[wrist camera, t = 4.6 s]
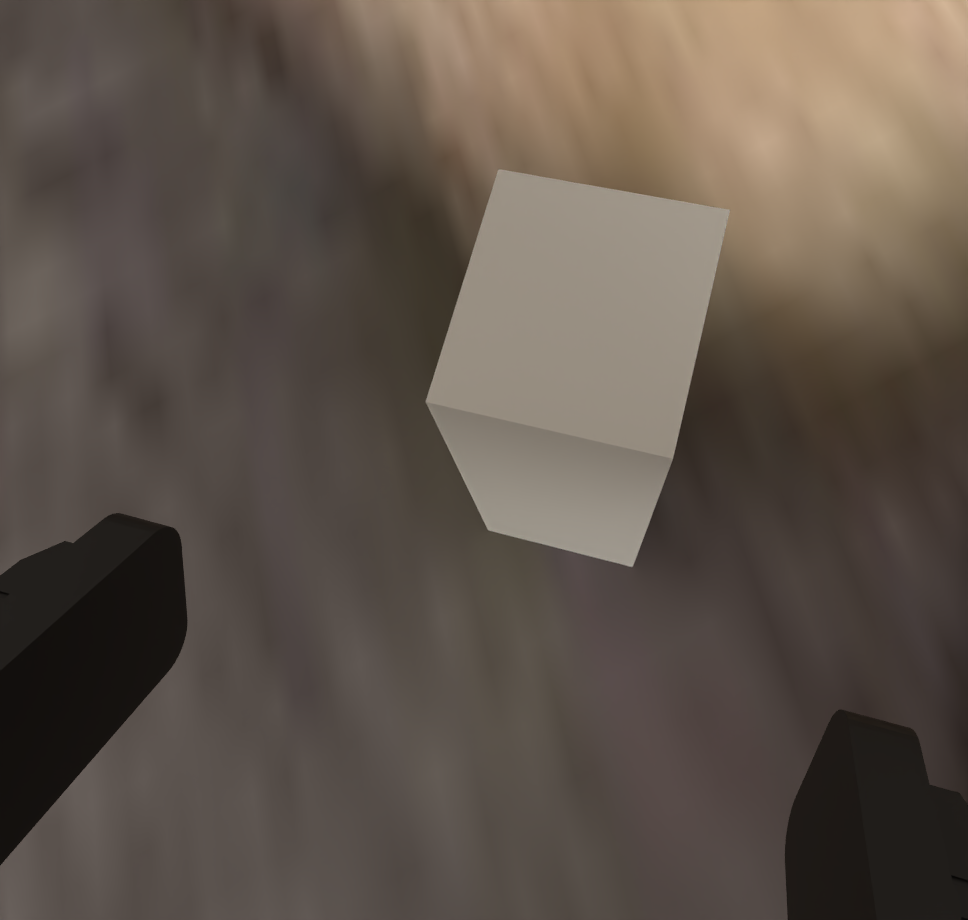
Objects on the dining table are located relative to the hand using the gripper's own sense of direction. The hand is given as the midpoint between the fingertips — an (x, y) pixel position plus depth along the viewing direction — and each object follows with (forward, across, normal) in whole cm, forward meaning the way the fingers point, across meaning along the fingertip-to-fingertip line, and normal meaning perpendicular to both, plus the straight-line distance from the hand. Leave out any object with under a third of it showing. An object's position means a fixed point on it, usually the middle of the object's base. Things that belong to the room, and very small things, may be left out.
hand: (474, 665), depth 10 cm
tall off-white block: (+11, 0, +3) cm, 11 cm away
